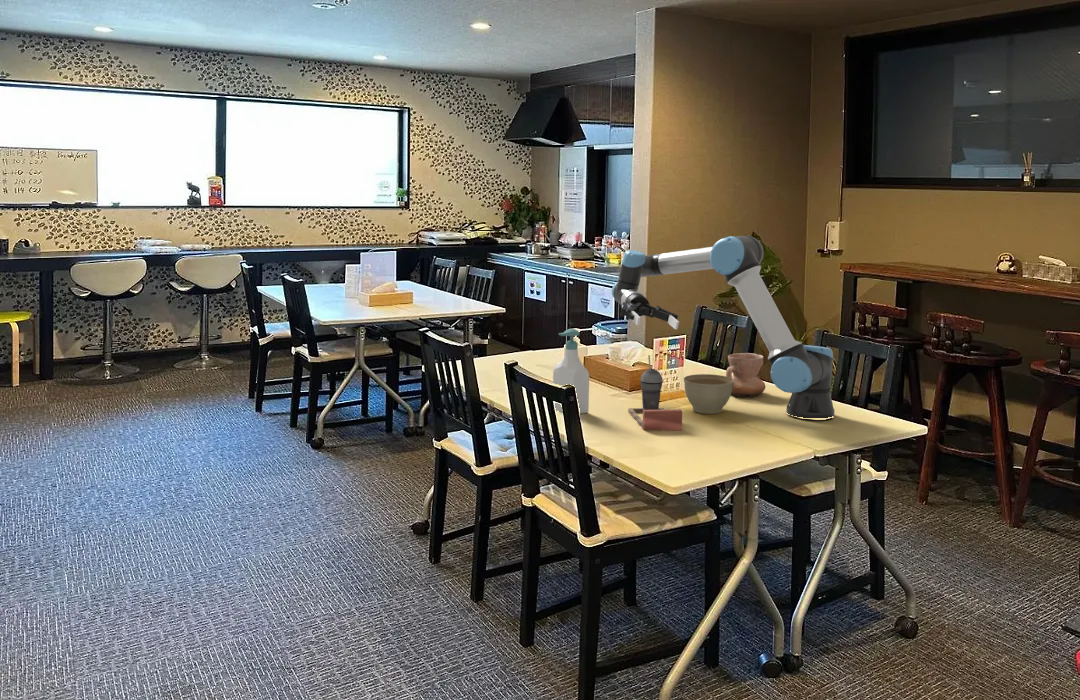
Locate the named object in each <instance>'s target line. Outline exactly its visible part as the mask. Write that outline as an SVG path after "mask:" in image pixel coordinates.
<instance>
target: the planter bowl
mask: <svg viewBox="0 0 1080 700" xmlns="http://www.w3.org/2000/svg"><path fill="white" fill-rule="evenodd" d="M683 382H684V384H683V385H684V386H683V387H684V392H685V395H686V397H687V400H688V402H689V404H690V405H691V407H692V410H693V411H694V412H696V413H699V414H707V415H711V414H714V415H715V414H720V413H721V412H722V411H723V408H724V407H725V406H726V404H727V403H728V401H729V400H730V398H731V395H732V394H731V392H732V385H733V382H734V380H733V379H732V378H729V377H726V375H721V374H713V373H712V374H710V373H709V374H708V373H703V374H702V373H700V374H697V373H696V374H690V375H687V376H684V377H683Z"/></svg>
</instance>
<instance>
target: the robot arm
mask: <svg viewBox="0 0 1080 700" xmlns="http://www.w3.org/2000/svg"><path fill="white" fill-rule="evenodd" d="M763 258H764V247H763V244H762V243H761V242H760V241H759V240H758V239H757V238H756V237H753V236H751V235H739V236H731V235H730V236H725V237H724V238H721V239H719V240H717V241H716V242H715V243H714V244H713V246H707V247H701V248H694V249H693V248H692V249H685V250H678V251H677V250H676V251H671V252H664V253H656V254H648V255H646V254H645V253H644V252H641V251H639V250H634V249H633V250H632V249H628V250H625V252H624V255H623V256H622V260H621V267H620V270H619V274H618V279H617V282H615V283H614V284H613V286H612V288H611V295H612V297H613V299H614V300H615V302H616V303H618V304H619V305H620V306H621V311H620V314H619V316H620V317H622V318H623V317H625V319H624V320H626V321H632V323H634V324H635V325H636V326H640V323H641V317H642V316H644V317H649V318H656V319H659V320H661V321H665V322H666V323H667V324H669V326H670V327H671V328H673V329H674V330H676V331H677V330H678V328H679V325H680V321H679V320H678V317H679V315H677V314H676V313H673V312H671V311H669V310H666V309H664V308H662V307H661V306H658V305H657V306H652V305H650V301H649V299H647V297H646V296H645V295H643V294H642V293H641V292H640V291H638V290H639V286H640V282H641V279H642V278H647V277H654V276H655V277H657V276H663V275H671V274H672V275H673V274H678V273H688V272H696V271H698V272H699V271H706V270H714V271H715V272H716V273H718V274H720V275H722V276H723V278H724V279H725V281H726V283H727V284H728V285H730V286H732V287H734V288H735V290H736V292H737V293H738V296H739V297H740V300H742V303H743V305H744V307H745V309H746V310H747V313H748V314H749V316H750V318H751V320H752V322H753V324H754V326H755V328H756V329H757V331H758V333H759V336H760V338H761V339H762V341H763V343H764V344H765V346H766V349H767V350H768V352H769V354H768V357H767V360H768V363H769V365H770V366H771V370H770V379H771V381H772V383H773V385H775V387H776V388H778V389H779V390H780V391H782V392H785V393H788V394H791V396H790V398H789V401H788V403H787V405H786V411H785V413H786V412H787V413H788V414H790V415H793V416H797V417H803V418H828V417H832V416H834V417H835V408H834V403H833V400H832V396H831V389H832V387H831V384H832V377H833V362H834V352H833V350H832V348H830V347H825V346H819V345H818V346H817V345H807V344H803V342H801V341H798V340H796V339H795V338H794V336H793V334H792V333H791V330H790V329H789V327H788V325H787V323H786V321H785V320H784V318H783V315H782V314H781V312H780V310H779V308H778V306H777V305H776V302H775V301H774V299H773V297H772V295H771V293H770V291H769V290H768V287H767V286H766V284H765V282H764V280H763V278H762V276H761V274H760V273H761V272H760V271H761V269H762V267H761V263H762V261H763Z"/></svg>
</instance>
